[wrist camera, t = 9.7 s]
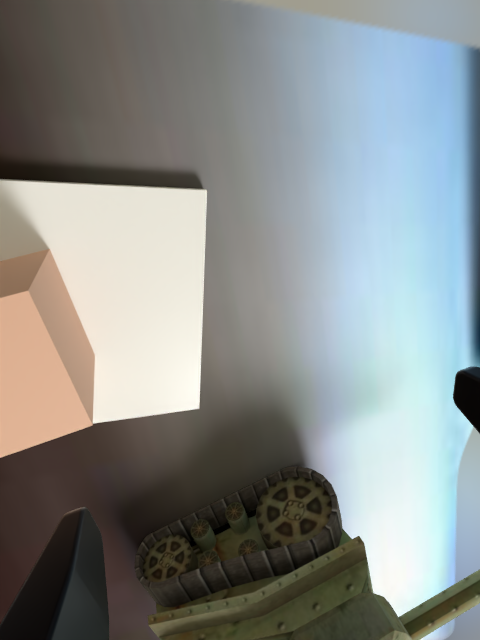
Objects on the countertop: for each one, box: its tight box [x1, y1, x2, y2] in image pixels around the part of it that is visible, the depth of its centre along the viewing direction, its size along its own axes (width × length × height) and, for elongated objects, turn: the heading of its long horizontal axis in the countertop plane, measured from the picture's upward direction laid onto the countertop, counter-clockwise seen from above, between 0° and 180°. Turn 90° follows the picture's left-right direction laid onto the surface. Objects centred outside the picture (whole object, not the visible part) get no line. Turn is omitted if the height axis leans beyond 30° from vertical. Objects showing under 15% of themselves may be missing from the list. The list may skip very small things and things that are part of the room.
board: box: [0, 179, 207, 423], centre depth 16 cm, size 16×11×1 cm
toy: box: [135, 466, 480, 640], centre depth 23 cm, size 10×18×10 cm, turn 105°
